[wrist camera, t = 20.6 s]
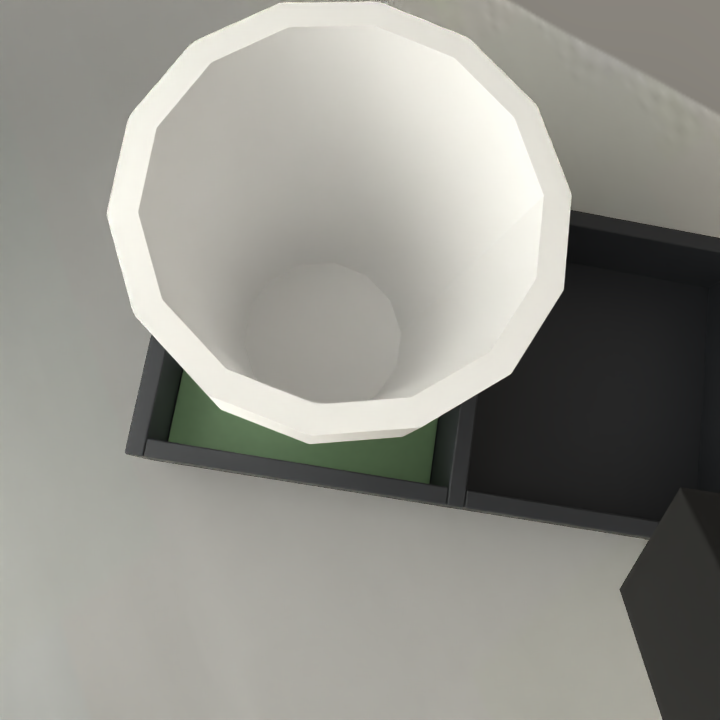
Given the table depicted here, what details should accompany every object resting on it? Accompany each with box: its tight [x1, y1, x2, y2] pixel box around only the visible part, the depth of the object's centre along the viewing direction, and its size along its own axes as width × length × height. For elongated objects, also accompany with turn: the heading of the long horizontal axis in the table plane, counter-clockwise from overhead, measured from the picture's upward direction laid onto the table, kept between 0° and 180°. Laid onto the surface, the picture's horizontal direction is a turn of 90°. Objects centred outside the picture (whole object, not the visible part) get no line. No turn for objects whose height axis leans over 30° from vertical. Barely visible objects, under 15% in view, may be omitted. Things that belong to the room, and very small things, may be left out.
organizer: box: [125, 210, 720, 539], centre depth 26 cm, size 22×11×4 cm, turn 81°
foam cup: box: [106, 1, 572, 444], centre depth 20 cm, size 10×9×13 cm
